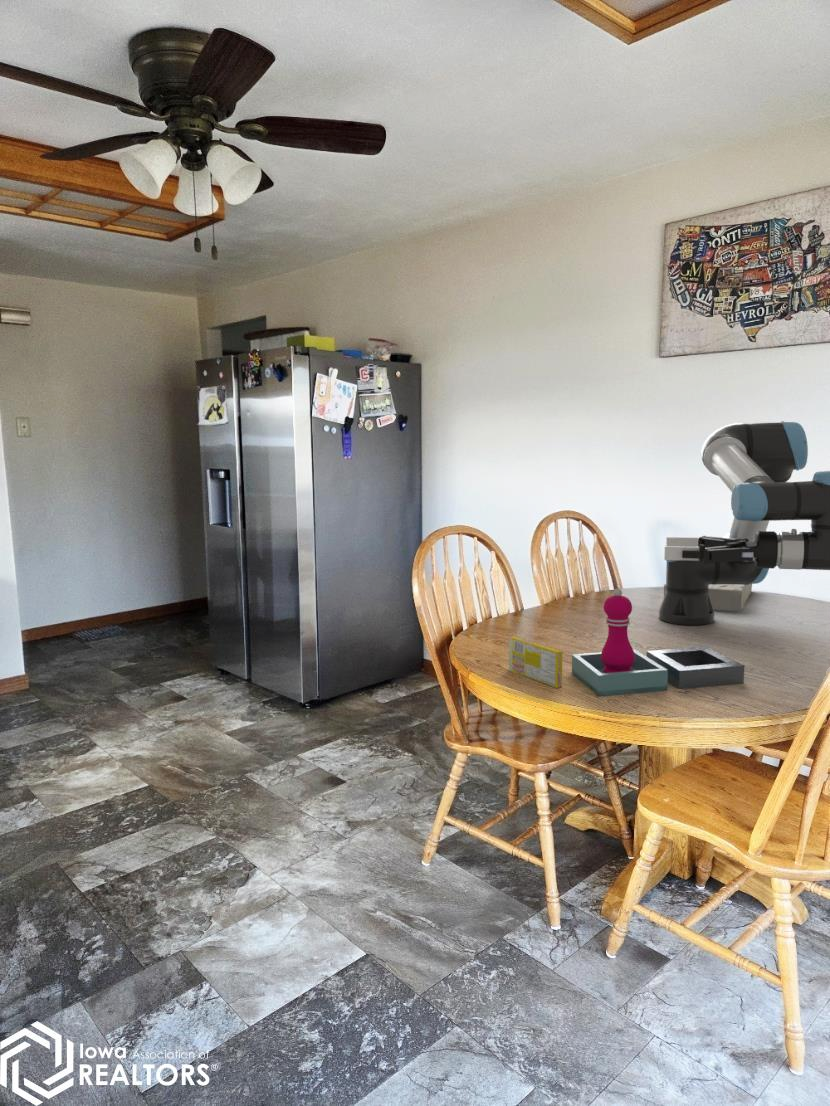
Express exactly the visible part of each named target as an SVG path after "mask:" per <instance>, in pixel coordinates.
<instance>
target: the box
mask: <svg viewBox="0 0 830 1106" xmlns="http://www.w3.org/2000/svg"><path fill="white" fill-rule="evenodd" d="M663 585H664V586H663V597H664V596H665V593H666V583H665V584H663ZM752 588H753V584H749V585H740V584H709V587H708V595H709V598H710V601H711V605H712V608H713V610H715V611H716V610H717V611H726V612H728V611H729V612H739V613H740V612H742V610H743V608H744V606H745V604H746V602H747V600H748V598H749V596H750V595H751V593H752V590H753V589H752Z"/></svg>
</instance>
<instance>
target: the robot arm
mask: <svg viewBox="0 0 830 1106" xmlns="http://www.w3.org/2000/svg"><path fill="white" fill-rule="evenodd" d="M808 448H809V447H808V440H807V435H806V431H805V429H804V427H803V426H802V424H800V423H798V422H796V421H783V420H782V421H780V422H748V423H745V422H744V423H740V422H739V423H731V424H727V425H724V426H722V427H719V428H718V429H717V430H715V431H713V432H712V433H711V434H710V435H709V436H708V437H707V438H706V440H705V441H704V443H703V445H702V447H701V452H700V453H701V455H700V456H701V460H702V464H703V465H704V467H705V468H706V469H707V470H708V472H709V473H711V474H713V475H715V476H718V477H719V478H720V480H721V481H722V482H723V483H724V484H725V486H726V487H727V488H728V490H729V491H730V492H731V496H730V497H731V498H730V499H731V500H730V506H731V511H732V515H733V521H732V524H731V528H730V531H729V532H728V533H726V534H725V535H724V536H723V537H719V536H718V537H717V536H706V535H703V536H700V537H699V536H698V537H695V536H694V537H691V536H687V537H686V536H666V544H665V545H664V559H663V560H664V561H666V567H665V568H666V569H665V570H666V573H665V584H666V593H665V596H664V595H663V600H662V602H661V604H660V608H659V611H658V618H659V620H661V621H663V622H665V623H669V624H674V625H681V626H683V625H684V626H702V625H707V624H712V623H713V622H714V621H715V611H714V609H713V608H712V605H711V601H710V598H709V595H708V587H709V584H740V585H749V584H752V585H755V584H760V583H762V582H763V581H764V579H766V577H767V576H768V573H769V570H770V569H775V568H776V567H777V568H778V569H780V570H796V571H798V570H799V571H800V570H817V571H830V470H824V471H816V472H815V473H814V474H813V477H812V480H810V481H809V480H807V481H806V480H805V481H793V482H792V481H789V480H791V477H792V474H793V472H794V471H800V470H803V469H804V468H806V466H807V463H808V455H809V449H808ZM771 521H775V522H776V521H811V524H810V528H811V531H798V529H796V528H792V529H791V531H780V532H779V533H778V534H777V532H775V531H772V530H771V531H767V529H768V526H769V523H770V522H771Z"/></svg>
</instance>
